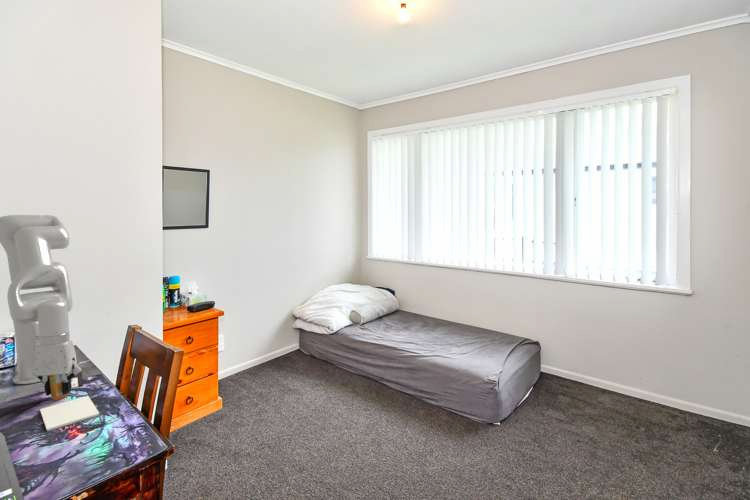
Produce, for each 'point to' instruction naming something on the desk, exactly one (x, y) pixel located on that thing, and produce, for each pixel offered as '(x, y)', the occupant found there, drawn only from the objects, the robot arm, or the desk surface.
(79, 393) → the desk surface
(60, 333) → the robot arm
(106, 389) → the desk surface
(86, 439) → the desk surface
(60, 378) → the supplement box
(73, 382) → the chocolate bar
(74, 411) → the mat
